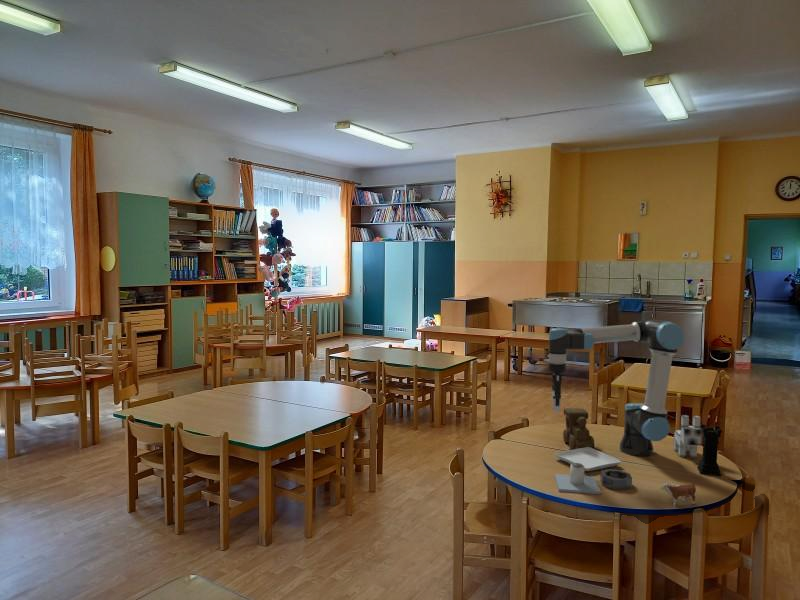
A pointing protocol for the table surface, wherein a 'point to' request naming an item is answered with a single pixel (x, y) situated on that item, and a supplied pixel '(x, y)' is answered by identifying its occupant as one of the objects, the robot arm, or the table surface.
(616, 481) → the ring
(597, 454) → the salad plate
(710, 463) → the chess piece
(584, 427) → the wooden toy train
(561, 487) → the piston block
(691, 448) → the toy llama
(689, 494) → the bull figurine
